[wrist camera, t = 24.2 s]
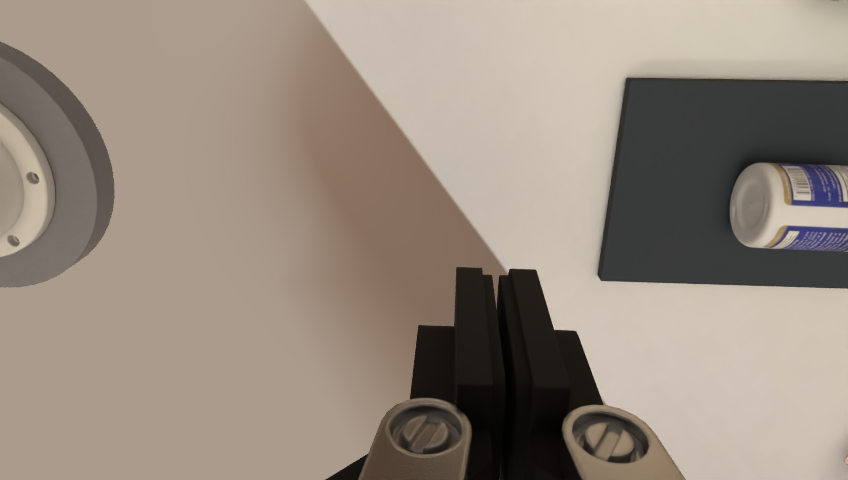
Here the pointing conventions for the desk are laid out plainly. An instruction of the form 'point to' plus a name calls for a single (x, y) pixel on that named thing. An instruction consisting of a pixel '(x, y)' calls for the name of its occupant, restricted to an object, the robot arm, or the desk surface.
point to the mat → (714, 178)
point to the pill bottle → (791, 206)
